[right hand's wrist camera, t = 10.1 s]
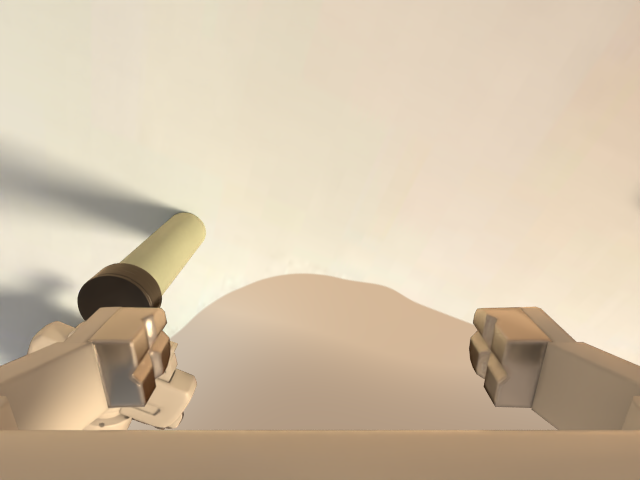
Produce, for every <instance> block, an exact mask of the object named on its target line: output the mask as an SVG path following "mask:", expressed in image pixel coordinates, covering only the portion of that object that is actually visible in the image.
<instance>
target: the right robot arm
mask: <svg viewBox="0 0 640 480" xmlns="http://www.w3.org/2000/svg"><path fill="white" fill-rule="evenodd" d="M166 324H167V320H166V316H165V311H164V310H163V309H162V308H141V307H103V308H99V309H98V310H97V311H96V312H95V313H94V314H93V315H92V316H91V317H90V318H89V319H88V320H86V321H85V322H84V323H83V324H82V325H81V326H80V327H79V328H78V329H77V330H76V331H75V332H74V333H73V334H72V335H70V336H69V337H68V338H67V339H66V340H65V341H64V342H56V343H54V344H52V345H49V346H47V347H44V348H42V349H40V350H37V351H35V352H33V353H30V354H28V355H25V356H23V357H21V358H18V359H16V360H14V361H11V362H9V363H7V364H4V365H2V366H0V480H640V366H638V365H636V364H633V363H631V362H629V361H626V360H624V359H622V358H619V357H617V356H614V355H612V354H610V353H607V352H605V351H603V350H600V349H598V348H596V347H593V346H591V345H588V344H586V343H584V342H576V341H575V340H574V339H573V338H572V337H571V336H570V335H569V334H567V333H566V332H565V331H564V330H563V329H562V328H561V327H560V326H559V325H558V324H557V323H556V322H555V321H554V320H553V319H551V318H550V317H549V316H548V315H547V314H546V313H545V312H544V311H543V310H542V309H541V308H538V307H510V308H479V309H477V310H476V312H475V314H474V320H473V324H474V325H475V327H476V328H477V330H478V331H477V332H476V333H475V334H474V335H473V336H472V337H471V339H470V347H469V351H470V360H471V363H472V366H473V368H474V370H475V372H476V374H477V375H479V376H480V377H482V378H483V379H485V382H484V388H485V390H486V392H487V393H488V395H489V397H490V398H491V400H492V402H493V404H494V405H495V407H521V408H532V410H533V411H534V412H536V413H537V414H538V415H540V416H541V417H542V418H543V419H545V420H546V421H547V422H549V423H550V424H551V425H552V426H554V427H555V428H556V429H558V430H82V429H84V428H85V427H86V426H88V425H89V424H90V423H92V422H93V421H94V420H95V419H97V418H98V417H99V416H101V415H102V414H103V413H105V412H106V411H107V410H108V408H119V407H145V405H146V404H147V402H148V400H149V398H150V397H151V395H152V393H153V392H154V390H155V388H156V382H155V379H157V378H158V377H160V376H161V375H163V374H164V372H165V370H166V368H167V367H168V363H169V359H170V350H171V345H170V339H169V337H168V336H167V335H166V334H165V333H164V332H163V331H162V330H163V328H164V327H165V325H166Z"/></svg>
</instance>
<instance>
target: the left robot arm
mask: <svg viewBox="0 0 640 480" xmlns="http://www.w3.org/2000/svg"><path fill="white" fill-rule="evenodd" d="M84 322H85V321H84ZM84 322H82V323H80V324H79V325H78V326H77V327H76V328H74V327H72V326H69V325H67V324H64V323H62V322H59V321H55V322H52V323H50V324H48V325H46V326H45V327H44V328H42V329H41V330H40V331H39V332H38V333H37V334H36V335H35V336H34V337H33V339H32V340H31V343H30V346H29V349H28V353H27V355H28V354H30V353H33V352H35V351H37V350H40V349H42V348H44V347H47V346H49V345H52V344H54V343H56V342H64V341H65V340H66V339H67V338H68V337H69V336H70V335H72V334H73V333H74V332H75V331H76V330H77V329H78V328H79V327H80V326H81V325H82V324H83V323H84ZM170 345H171V350H170V359H169V363H168V367H167V368H166V370H165V372H164V374H163V375H161V376H160V377H158V378H157V379H155V382H156V388H155V390H154V392H153V393H152V395H151V397H150V398H149V400H148V402H147V404H146V405H145V407H119V408H108V410H107V411H106V412H105V413H103V414H102V415H101V416H99V417H98V418H97V419H95V420H94V421H93V422H92V423H90V424H89V425H88V426H86V427H85V428H84V429H82V430H127V429H128V427H129V425H130V423H131V421H132V419H133V420H136V421H138V422H141V423H144V424H148V425H152V426H154V427H155V428H157V429H161V430H164V429H165V428H168V429H170V428H176V427H177V426H178V425H179V424H180V422H181V420H182V418H183V415H184V414H183V411H184V409H185V408H186V407H187V405H188V403H189V402H190V400H191V398H192V396H193V393H194V391H195V388H196V386H197V382H196V379H195V377H194V376H193V375H191V374H189V373H186V372H184V371H181V370H179V369H176V366H177V360H176V356H175V353H174V351H175V349H176V347H177V345H178V344H177V343H175V342H172V341H170Z"/></svg>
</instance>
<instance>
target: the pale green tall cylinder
mask: <svg viewBox="0 0 640 480" xmlns="http://www.w3.org/2000/svg"><path fill="white" fill-rule="evenodd" d="M205 235H206V230H205V226H204V224H203V222H202V221H201V220H200V219H199V218H198V217H197V216H195V215H193V214H190V213H178V214H176V215H174V216H173V217H172V218H170V219H169V220H168V221H167V222H166V223H165V224H163V225H162V226H161V227H160V228H159V229H158V230H157V231H155V232H154V233H153V234H152V235H151V236H150V237H149V238H147V239H146V240H145V241H144V242H143V243H142V244H141V245H139V246H138V247H137V248H136V249H135V250H134V251H133V252H131V253H130V254H129V255H128V256H127V257H126V258H124V259H123V260H122V261H121V262H120V263H127V264H132V265H135V266H138V267H140V268H142V269H144V270H146V271H147V272H148V273H149V274H151V275H152V276H153V278H154V279H155V280H156V281H157V283H158V285H159V287H160V290H161V294H162V295H163V294H164V292H165V291H166V290H167V288H168V287H169V286H170V284H171V283H172V282H173V280H174V279H175V278H176V276H177V275H178V274H179V272H180V271H181V270H182V269H183V267H184V266H185V265H186V263H187V262H188V261H189V259H190V258H191V257H192V255H193V254H194V253H195V251H196V250H197V249H198V247H199V246H200V245H201V243H202V242H203V241H204V239H205Z"/></svg>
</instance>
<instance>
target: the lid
mask: <svg viewBox="0 0 640 480" xmlns="http://www.w3.org/2000/svg"><path fill="white" fill-rule="evenodd" d="M161 302H162V294H161V290H160V287H159V285H158V283H157V281H156V280H155V279H154V278H153V276H152V275H151V274H149V273H148V272H147V271H146V270H144V269H142V268H140V267H138V266H135V265H132V264H127V263H117V264H112V265H109V266H107V267H105V268H103V269H102V270H101V271H100V272H98V273H97V274H96V275H95V276H94V277H92V278H91V279H90V280H89V281H87V282H86V283H85V284H84V285H83V286H82V288H81V290H80V292H79V294H78V308H79V311H80V313H81V315H82V317H83V319H84V320H85V321H86V320H88V319H89V318H90V317H91V316H92V315H93V314H94V313H95V312H96V311H97V310H98V309H99V308H103V307H141V308H160V306H161Z"/></svg>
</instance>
